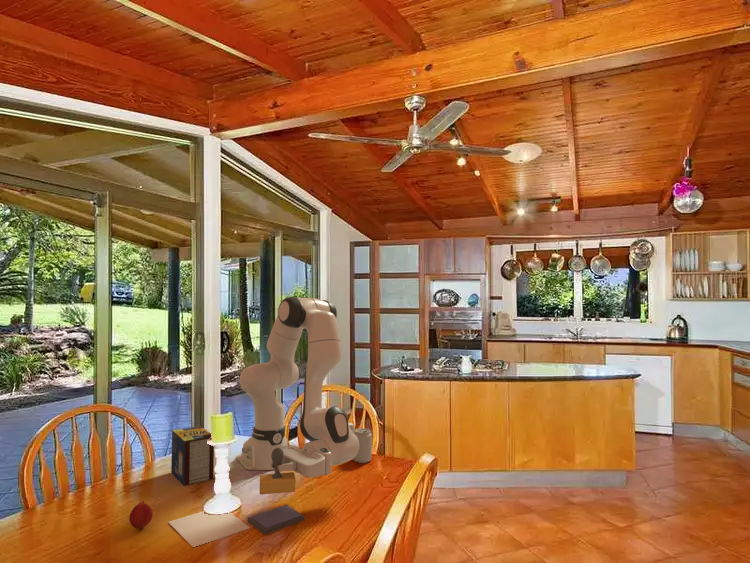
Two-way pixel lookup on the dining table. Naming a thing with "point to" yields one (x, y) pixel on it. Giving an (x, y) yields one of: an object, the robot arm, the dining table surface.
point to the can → (363, 445)
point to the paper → (207, 527)
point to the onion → (140, 515)
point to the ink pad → (276, 519)
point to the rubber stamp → (277, 477)
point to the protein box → (192, 455)
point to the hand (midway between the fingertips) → (274, 466)
